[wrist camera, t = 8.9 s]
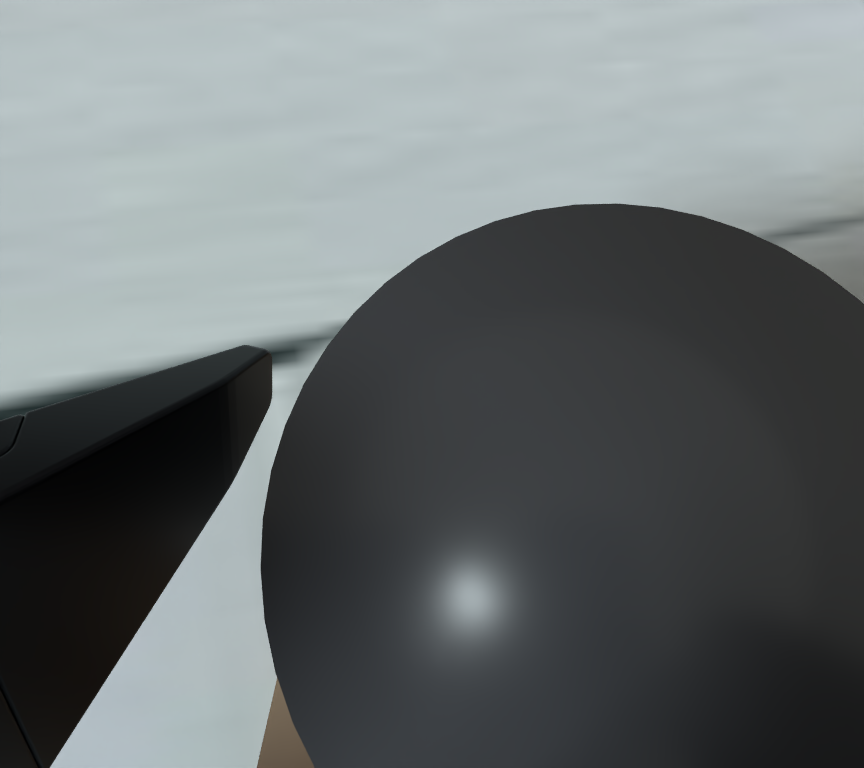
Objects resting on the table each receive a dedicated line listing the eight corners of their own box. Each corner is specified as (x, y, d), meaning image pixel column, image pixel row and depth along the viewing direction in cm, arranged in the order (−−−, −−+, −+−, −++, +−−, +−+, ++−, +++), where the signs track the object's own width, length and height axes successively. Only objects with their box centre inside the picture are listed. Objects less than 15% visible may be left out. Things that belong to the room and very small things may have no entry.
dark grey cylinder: (596, 595, 16) (1184, 881, 3) (412, 638, 16) (317, 1115, 3) (546, 414, 17) (843, 136, 5) (375, 452, 17) (201, 266, 4)
